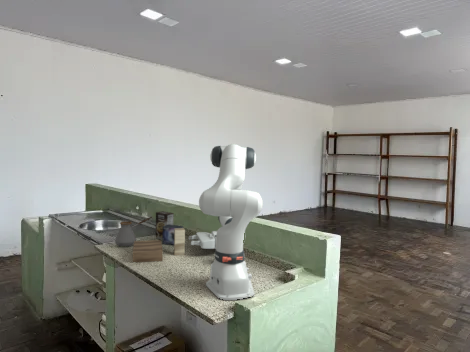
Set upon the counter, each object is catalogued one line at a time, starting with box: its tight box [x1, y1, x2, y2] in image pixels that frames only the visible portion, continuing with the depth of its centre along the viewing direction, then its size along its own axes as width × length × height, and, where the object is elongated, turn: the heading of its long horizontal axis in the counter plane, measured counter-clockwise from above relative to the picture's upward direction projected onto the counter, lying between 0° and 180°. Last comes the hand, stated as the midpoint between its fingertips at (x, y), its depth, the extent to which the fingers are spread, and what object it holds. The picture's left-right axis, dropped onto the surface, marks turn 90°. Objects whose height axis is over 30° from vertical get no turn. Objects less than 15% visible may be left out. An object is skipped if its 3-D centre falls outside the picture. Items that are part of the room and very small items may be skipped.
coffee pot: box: [114, 216, 154, 247], centre depth 186 cm, size 21×12×15 cm, turn 124°
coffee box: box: [155, 210, 175, 240], centre depth 200 cm, size 9×6×16 cm
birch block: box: [173, 227, 186, 256], centre depth 171 cm, size 5×5×13 cm
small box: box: [161, 224, 184, 247], centre depth 189 cm, size 11×6×10 cm, turn 73°
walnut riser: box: [132, 239, 164, 263], centre depth 167 cm, size 20×14×5 cm
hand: (189, 240), depth 173 cm, fingers open, 8 cm apart
